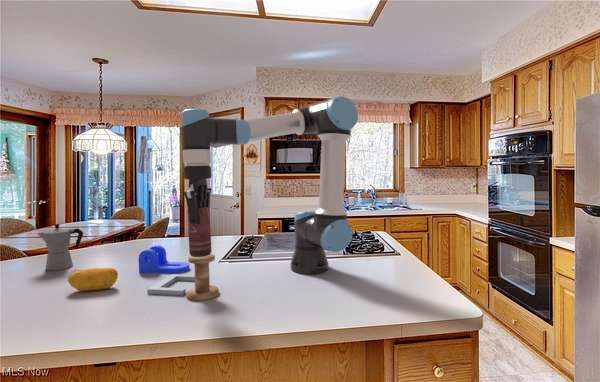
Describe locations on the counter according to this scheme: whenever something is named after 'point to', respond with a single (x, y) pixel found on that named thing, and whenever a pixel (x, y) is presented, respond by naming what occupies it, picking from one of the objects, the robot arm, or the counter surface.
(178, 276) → the grey u-shaped frame
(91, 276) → the potato
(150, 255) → the bracket
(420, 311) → the counter surface
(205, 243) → the can
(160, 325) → the counter surface
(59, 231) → the coffeepot
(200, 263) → the bobbin
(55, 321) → the counter surface
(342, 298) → the counter surface
